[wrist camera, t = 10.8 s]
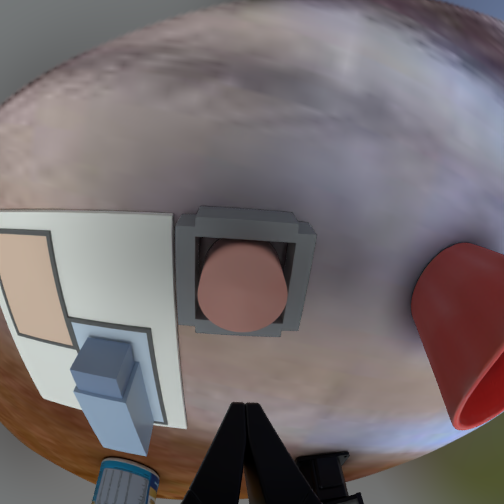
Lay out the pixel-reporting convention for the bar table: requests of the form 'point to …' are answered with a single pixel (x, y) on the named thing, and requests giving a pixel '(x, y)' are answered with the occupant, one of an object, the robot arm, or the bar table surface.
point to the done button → (242, 285)
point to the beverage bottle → (125, 483)
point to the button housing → (249, 228)
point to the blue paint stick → (113, 395)
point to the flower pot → (464, 330)
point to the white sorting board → (93, 297)
